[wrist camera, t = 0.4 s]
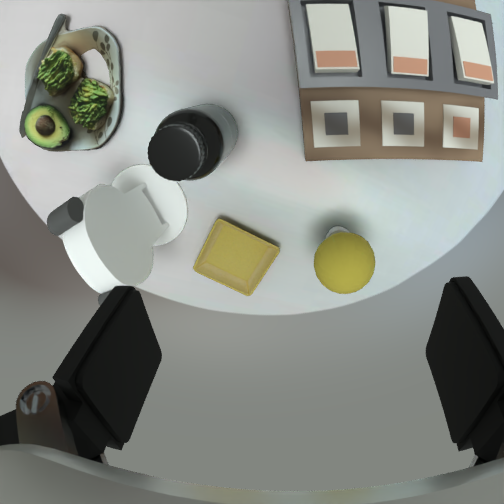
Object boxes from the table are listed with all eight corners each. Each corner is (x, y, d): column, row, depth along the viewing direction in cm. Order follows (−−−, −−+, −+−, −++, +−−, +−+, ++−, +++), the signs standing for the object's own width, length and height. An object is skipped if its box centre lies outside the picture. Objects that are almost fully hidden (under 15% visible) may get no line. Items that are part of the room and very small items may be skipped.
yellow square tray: (282, 241, 42) (281, 249, 40) (251, 288, 46) (249, 297, 44) (220, 210, 40) (217, 217, 38) (195, 261, 44) (191, 270, 43)
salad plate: (28, 27, 29) (6, 27, 25) (132, 1, 28) (114, -6, 24) (29, 150, 38) (9, 159, 34) (126, 148, 37) (108, 157, 33)
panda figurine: (93, 183, 40) (23, 233, 27) (158, 144, 36) (91, 184, 23) (136, 255, 45) (86, 324, 32) (203, 227, 41) (164, 299, 28)
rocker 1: (305, 9, 24) (305, 3, 23) (346, 9, 24) (348, 3, 22) (314, 73, 26) (315, 69, 25) (356, 72, 26) (359, 68, 24)
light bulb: (363, 255, 41) (379, 303, 32) (313, 260, 42) (317, 309, 33) (362, 207, 38) (382, 247, 29) (308, 212, 39) (312, 254, 30)
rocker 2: (384, 5, 22) (388, 5, 21) (421, 10, 21) (427, 10, 20) (387, 71, 26) (392, 73, 25) (423, 73, 26) (428, 76, 24)
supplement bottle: (249, 120, 34) (231, 138, 24) (221, 170, 37) (193, 209, 27) (196, 92, 33) (155, 100, 23) (171, 143, 36) (125, 172, 26)
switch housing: (288, -1, 25) (287, -8, 22) (477, 17, 22) (490, 14, 19) (299, 87, 30) (300, 88, 27) (484, 96, 26) (497, 99, 24)
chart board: (283, -27, 25) (282, -33, 23) (464, -10, 21) (473, -13, 19) (305, 157, 35) (305, 161, 33) (474, 157, 32) (483, 162, 30)
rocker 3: (445, 20, 22) (451, 15, 20) (475, 26, 21) (482, 22, 20) (457, 80, 24) (464, 77, 23) (487, 85, 23) (494, 83, 22)
